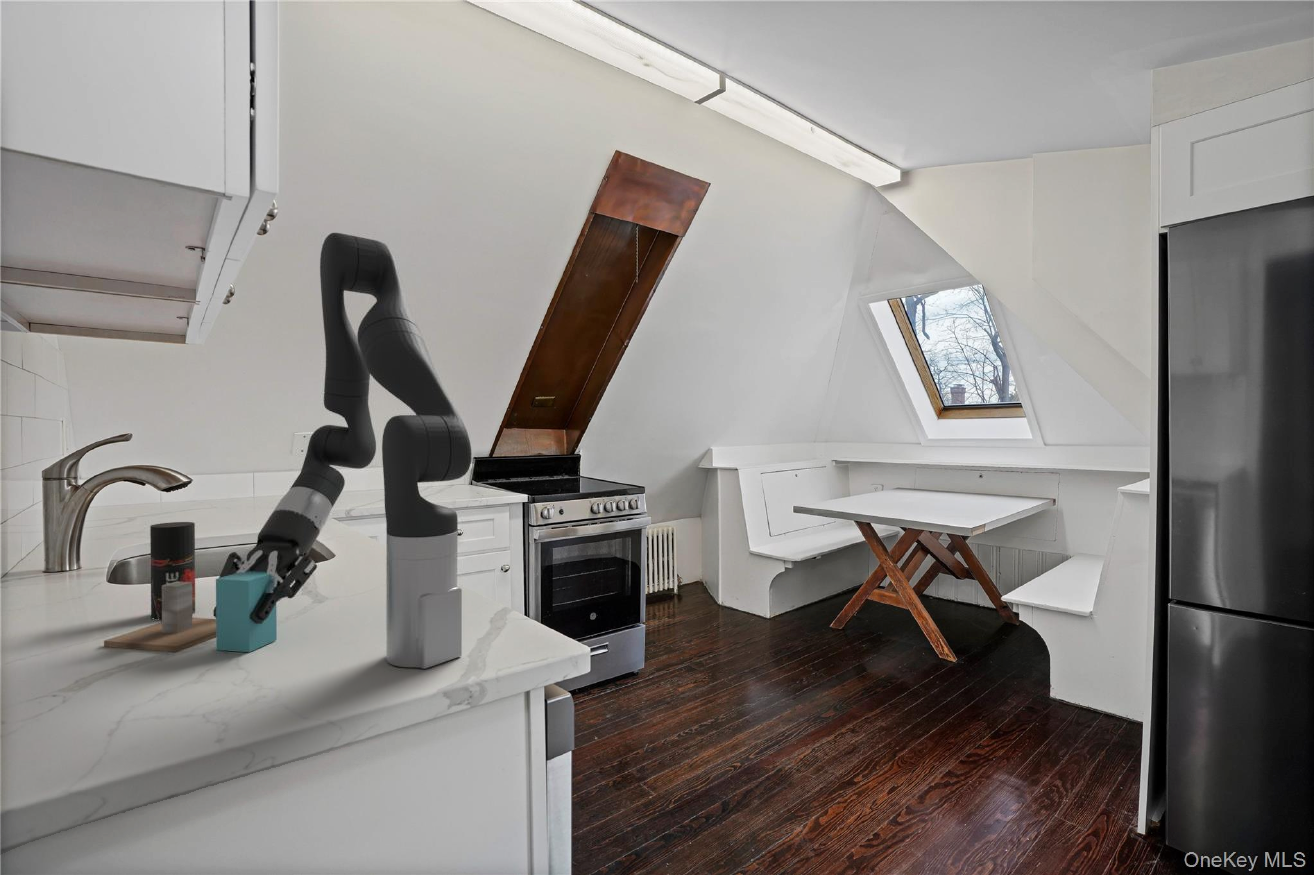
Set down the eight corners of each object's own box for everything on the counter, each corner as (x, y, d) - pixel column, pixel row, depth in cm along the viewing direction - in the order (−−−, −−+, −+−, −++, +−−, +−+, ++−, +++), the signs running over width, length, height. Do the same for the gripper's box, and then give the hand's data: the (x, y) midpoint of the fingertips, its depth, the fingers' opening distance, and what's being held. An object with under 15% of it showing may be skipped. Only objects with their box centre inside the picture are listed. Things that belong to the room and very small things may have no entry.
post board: (244, 625, 104) (243, 576, 103) (176, 651, 92) (176, 596, 92) (178, 621, 106) (177, 573, 105) (103, 646, 94) (103, 591, 94)
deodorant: (158, 622, 105) (157, 528, 105) (145, 615, 109) (145, 524, 109) (200, 613, 110) (200, 524, 110) (187, 607, 114) (187, 520, 113)
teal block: (276, 640, 97) (276, 572, 97) (249, 652, 92) (248, 580, 91) (245, 637, 98) (245, 570, 97) (216, 649, 93) (215, 579, 92)
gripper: (243, 506, 103) (175, 603, 91) (326, 509, 100) (267, 609, 89) (269, 534, 108) (208, 630, 97) (348, 537, 106) (295, 635, 94)
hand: (237, 619), depth 93 cm, fingers closed on teal block, 5 cm apart
